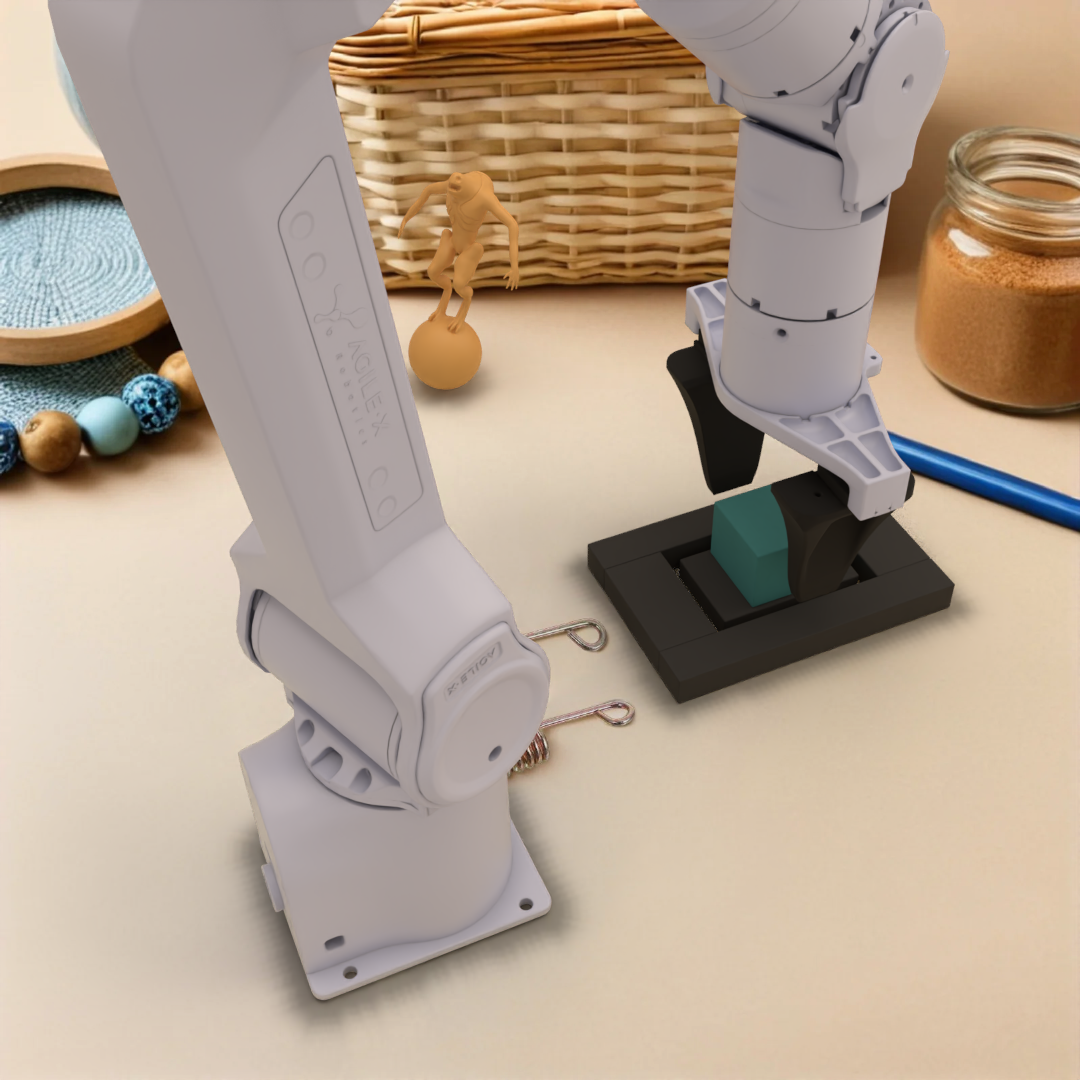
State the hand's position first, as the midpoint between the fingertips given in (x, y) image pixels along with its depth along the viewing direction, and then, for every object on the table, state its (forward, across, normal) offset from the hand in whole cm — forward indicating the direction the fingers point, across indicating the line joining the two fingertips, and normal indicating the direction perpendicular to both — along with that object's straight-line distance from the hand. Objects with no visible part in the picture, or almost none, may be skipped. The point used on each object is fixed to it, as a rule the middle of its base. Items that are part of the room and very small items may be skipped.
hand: (770, 536), depth 66 cm
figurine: (+3, +22, +7) cm, 23 cm away
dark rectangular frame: (+3, 0, 0) cm, 3 cm away
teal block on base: (+3, 0, 0) cm, 3 cm away
